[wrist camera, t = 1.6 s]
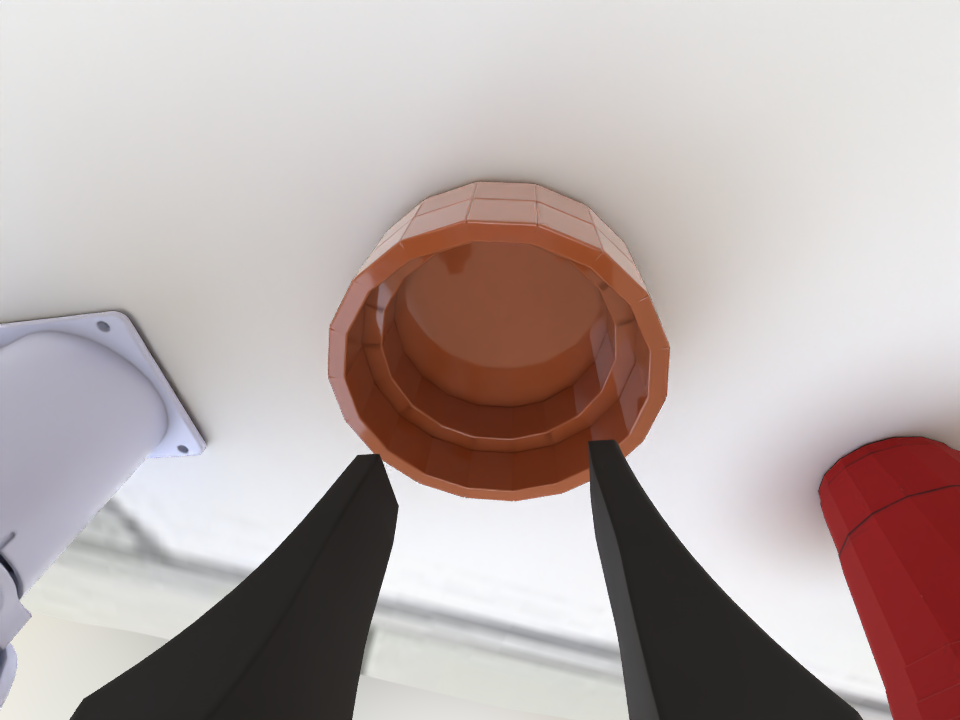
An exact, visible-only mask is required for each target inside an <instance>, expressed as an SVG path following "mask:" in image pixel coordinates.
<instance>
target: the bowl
mask: <svg viewBox="0 0 960 720" xmlns="http://www.w3.org/2000/svg"><path fill="white" fill-rule="evenodd" d="M669 356H670V347H669V342H668V340H667V337H666V335H665V332H664V330H663V327H662V325H661V322H660V320H659V317H658V315H657V312H656V310H655V307H654V305H653V302H652V300H651V297H650V295H649V293H648V291H647V289H646V287H645V284H644V282H643V280H642V278H641V276H640V274H639V272H638V270H637V268H636V265H635V263H634V261H633V259H632V257H631V255H630V253H629V250H628V248H627V246H626V244H625V243H624V242H623V241H622V240H621V239H620V238H619V237H618V236H617V235H616V234H615V233H614V232H613V231H612V230H611V229H610V228H609V227H608V226H607V225H606V224H605V223H604V222H603V221H602V220H601V219H600V218H599V217H598V216H597V215H596V214H595V213H594V212H593V211H592V210H591V209H590V208H589V207H587V206H586V205H584V204H582V203H580V202H577V201H575V200H573V199H570V198H568V197H565V196H563V195H561V194H558V193H556V192H554V191H551V190H549V189H547V188H544V187H542V186H540V185H535V184H532V183H507V182H482V181H479V182H474V183H471V184H468V185H465V186H462V187H459V188H456V189H453V190H450V191H447V192H444V193H441V194H438V195H435V196H432V197H429V198H426V199H425V200H423V201H422V202H421V203H419V204H418V205H417V206H416V207H415V208H413V209H412V210H411V211H410V212H409V213H408V214H406V215H405V216H404V217H403V218H402V219H400V220H399V221H398V222H397V223H396V224H395V225H393V226H392V227H391V228H390V229H389V230H387V231H386V233H385V234H384V236H383V237H382V238H381V240H380V241H379V243H378V244H377V246H376V247H375V248H374V250H373V251H372V253H371V254H370V256H369V257H368V258H367V260H366V261H365V263H364V264H363V266H362V267H361V268H360V270H359V271H358V273H357V274H356V276H355V277H354V279H353V280H352V282H351V284H350V286H349V288H348V290H347V292H346V294H345V296H344V298H343V300H342V302H341V304H340V306H339V308H338V310H337V312H336V314H335V316H334V318H333V320H332V322H331V324H330V328H329V350H328V379H329V381H330V384H331V386H332V389H333V391H334V394H335V396H336V399H337V402H338V404H339V407H340V409H341V412H342V414H343V417H344V419H345V420H346V422H347V423H348V424H349V426H350V427H351V428H352V429H353V430H354V431H355V433H356V434H357V435H358V436H359V437H360V438H361V439H362V441H363V442H364V443H365V444H366V445H367V446H368V447H369V449H370V450H371V451H372V452H373V453H374V454H380V456H381V459H382V460H383V461H384V462H386V463H387V464H389V465H391V466H392V467H394V468H395V469H397V470H399V471H400V472H402V473H403V474H405V475H406V476H408V477H410V478H411V479H413V480H414V481H416V482H418V483H420V484H423V485H426V486H429V487H432V488H436V489H439V490H442V491H445V492H448V493H451V494H454V495H457V496H460V497H465V498H475V499H489V500H502V501H513V500H514V501H520V500H526V499H532V498H538V497H544V496H550V495H556V494H562V493H565V492H567V491H569V490H571V489H574V488H576V487H578V486H580V485H582V484H585V483H587V482H589V481H590V473H589V452H588V441H596V440H612V439H614V440H615V441H616V442H618V444H619V446H620V449H621V451H622V453H623V455H624V457H626V456H627V455H628V454H630V453H631V452H632V451H633V450H634V449H635V448H636V447H637V446H639V445H640V444H641V443H642V442H643V440H644V439H645V437H646V435H647V434H648V432H649V430H650V428H651V426H652V424H653V422H654V420H655V418H656V416H657V414H658V413H659V411H660V409H661V407H662V405H663V403H664V401H665V399H666V397H667V387H668V371H669Z"/></svg>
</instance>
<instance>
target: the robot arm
mask: <svg viewBox="0 0 960 720" xmlns="http://www.w3.org/2000/svg"><path fill="white" fill-rule="evenodd" d="M105 323H107V324H108V325H109V326H107V325H106V324H105ZM205 449H206V444H205V442H204V440H203V438H202V437H201V435H200V434H199V432H198V430H197V429H196V427H195V425H194V424H193V422H192V421H191V419H190V417H189V416H188V414H187V412H186V411H185V409H184V407H183V406H182V404H181V403H180V401H179V399H178V398H177V396H176V394H175V393H174V391H173V390H172V388H171V386H170V385H169V383H168V381H167V380H166V378H165V376H164V375H163V373H162V372H161V370H160V368H159V367H158V365H157V363H156V362H155V360H154V359H153V357H152V355H151V354H150V352H149V350H148V349H147V347H146V346H145V344H144V342H143V341H142V339H141V337H140V336H139V334H138V332H137V331H136V329H135V328H134V326H133V324H132V323H131V321H130V320H129V318H128V317H127V316H126V315H124V314H123V313H120V312H118V311H109V312H100V313H92V314H83V315H74V316H66V317H57V318H49V319H40V320H31V321H23V322H14V323H5V324H0V710H1V708H2V705H3V703H4V702H5V700H6V698H7V696H8V693H9V691H10V688H11V686H12V683H13V681H14V678H15V673H16V669H17V654H16V652H15V649H14V647H13V645H12V644H11V643H10V641H11V640H12V639H13V638H14V637H15V636H16V634H17V633H18V632H19V631H20V630H21V628H22V627H23V626H24V625H25V624H26V622H27V621H28V620H29V619H30V618H31V617H32V616H31V613H30V612H29V611H28V610H26V609H25V608H24V606H23V605H22V604H21V603H20V600H21V599H22V598H23V597H24V595H25V594H26V593H27V592H28V591H29V590H30V589H31V588H32V586H33V585H34V584H35V583H36V582H37V581H38V580H39V579H40V577H41V576H42V575H43V574H44V573H45V572H46V571H47V569H48V568H49V567H50V566H51V565H52V564H53V563H54V562H55V560H56V559H57V558H58V557H59V556H60V555H61V554H62V553H63V551H64V550H65V549H66V548H67V547H68V546H69V545H70V544H71V542H72V541H73V540H74V539H75V538H76V537H77V536H78V535H79V533H80V532H81V531H82V530H83V529H84V528H85V527H86V526H87V524H88V523H89V522H90V521H91V520H92V519H93V518H94V517H95V515H96V514H97V513H98V512H99V511H100V510H101V509H102V508H103V506H104V505H105V504H106V503H107V502H108V501H109V500H110V499H111V497H112V496H113V495H114V494H115V493H116V492H117V491H118V490H119V488H120V487H121V486H122V485H123V484H124V483H125V482H126V481H127V479H128V478H129V477H130V476H131V475H132V474H133V473H134V472H135V470H136V469H137V468H138V467H139V466H140V465H141V464H142V463H143V461H144V460H145V459H146V458H159V457H175V456H190V455H200V454H201V453H202V452H203V451H204V450H205ZM588 452H589V473H590V494H591V505H592V513H593V521H594V529H595V537H596V542H597V546H598V550H599V555H600V559H601V564H602V568H603V573H604V577H605V581H606V586H607V590H608V595H609V599H610V604H611V608H612V612H613V617H614V621H615V626H616V631H617V636H618V641H619V647H620V654H621V661H622V668H623V675H624V683H625V690H626V697H627V705H628V712H629V719H630V720H863V719H862V717H861V716H860V715H859V713H858V712H857V711H856V710H855V709H854V708H852V707H851V706H850V705H849V704H848V703H846V702H845V701H844V700H843V699H841V698H840V697H839V696H838V695H837V694H835V693H834V692H833V691H832V690H830V689H829V688H828V687H827V686H826V685H824V684H823V683H822V682H821V681H820V680H818V679H817V678H816V677H815V676H814V675H813V674H811V673H810V672H809V671H808V670H807V669H805V668H804V667H803V666H802V665H801V664H800V663H799V662H797V661H796V660H795V659H794V658H793V657H792V656H791V655H790V654H789V653H787V652H786V651H785V650H784V649H783V648H782V647H781V646H780V645H778V644H777V643H776V642H775V641H774V640H773V639H772V638H771V637H770V636H769V635H768V634H767V633H766V632H765V631H764V630H763V629H762V628H760V627H759V626H758V625H757V624H756V623H755V622H754V621H753V620H752V619H751V618H750V617H749V616H748V615H747V614H746V613H745V612H744V611H743V610H742V609H741V608H740V607H739V606H738V605H737V604H736V603H735V602H734V601H733V600H732V599H731V598H730V597H729V596H728V595H727V594H726V593H725V592H724V591H723V590H722V589H721V587H720V586H719V585H718V584H717V583H716V582H715V581H714V580H713V579H712V578H711V577H710V576H709V574H708V573H707V572H706V571H705V570H704V569H703V568H702V566H701V565H700V564H699V563H698V562H697V561H696V560H695V558H694V557H693V556H692V555H691V554H690V552H689V551H688V550H687V549H686V547H685V546H684V545H683V544H682V543H681V541H680V540H679V539H678V537H677V536H676V535H675V533H674V532H673V531H672V530H671V528H670V527H669V526H668V524H667V523H666V522H665V520H664V519H663V517H662V516H661V515H660V513H659V512H658V510H657V509H656V508H655V506H654V505H653V503H652V502H651V500H650V499H649V497H648V496H647V494H646V493H645V491H644V490H643V488H642V487H641V485H640V483H639V482H638V480H637V478H636V477H635V475H634V473H633V472H632V470H631V468H630V466H629V465H628V463H627V461H626V459H625V457H624V455H623V453H622V451H621V449H620V446H619V444H618V442H616V441H615V440H614V439H612V440H596V441H588ZM398 507H399V506H398V503H397V501H396V498H395V495H394V492H393V489H392V487H391V484H390V481H389V478H388V476H387V473H386V470H385V467H384V465H383V462H382V459H381V456H380V454H367V455H357V456H356V458H355V459H354V460H353V461H352V462H351V463H350V465H349V466H348V467H347V468H346V469H345V471H344V472H343V473H342V474H341V475H340V477H339V478H338V479H337V480H336V482H335V483H334V484H333V485H332V486H331V488H330V489H329V490H328V491H327V492H326V494H325V495H324V496H323V497H322V498H321V500H320V501H319V502H318V503H317V504H316V505H315V507H314V508H313V509H312V510H311V511H310V512H309V514H308V515H307V516H306V517H305V518H304V519H303V521H302V522H301V523H300V524H299V525H298V526H297V527H296V528H295V529H294V530H293V532H292V533H291V534H290V535H289V536H288V537H287V538H286V539H285V540H284V541H283V542H282V543H281V544H280V546H279V547H278V548H277V549H276V550H275V551H274V552H273V553H272V554H271V555H270V556H269V557H268V558H267V559H266V560H265V561H264V562H263V563H262V564H261V565H260V566H259V567H258V568H257V569H256V570H254V571H253V572H252V573H251V574H250V575H249V576H248V577H247V578H246V579H245V580H244V581H243V582H241V583H240V584H239V585H238V586H237V587H236V588H235V589H234V590H233V591H231V592H230V593H229V594H228V595H227V596H225V597H224V598H223V599H222V600H221V601H219V602H218V603H217V604H216V605H215V606H213V607H212V608H211V609H210V610H209V611H207V612H206V613H205V614H204V615H203V616H201V617H200V618H199V619H198V620H196V621H195V622H194V623H193V624H191V625H190V626H189V627H187V628H186V629H185V630H183V631H182V632H181V633H180V634H178V635H177V636H176V637H174V638H173V639H172V640H170V641H169V642H168V643H166V644H165V645H163V646H162V647H161V648H159V649H158V650H156V651H155V652H154V653H152V654H151V655H149V656H148V657H147V658H145V659H144V660H142V661H141V662H140V663H138V664H137V665H135V666H133V667H132V668H130V669H129V670H127V671H126V672H124V673H123V674H121V675H120V676H118V677H117V678H115V679H114V680H112V681H111V682H109V683H108V684H106V685H105V686H103V687H101V688H100V689H98V690H97V691H95V692H94V693H92V694H91V695H89V696H88V697H86V698H84V699H83V701H82V702H81V703H80V705H79V706H78V708H77V709H76V711H75V712H74V714H73V715H72V717H71V718H70V720H352V717H353V710H354V705H355V698H356V692H357V686H358V681H359V676H360V670H361V665H362V659H363V654H364V648H365V644H366V640H367V636H368V632H369V628H370V624H371V621H372V617H373V613H374V610H375V606H376V603H377V599H378V596H379V592H380V589H381V585H382V582H383V578H384V575H385V571H386V568H387V564H388V560H389V557H390V553H391V549H392V546H393V541H394V535H395V529H396V522H397V514H398Z"/></svg>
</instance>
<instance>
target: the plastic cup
mask: <svg viewBox="0 0 960 720" xmlns="http://www.w3.org/2000/svg"><path fill="white" fill-rule="evenodd" d="M818 492H819V496H820V499H821V503H820V504H821V507H822V511H823V514H824V518H825V520H826V523H827V526H828V528H829V531H830V533H831V536H832V538H833V541H834V543H835V546H836V548H837V551H838V553H839V554H838V555H839V559H840V562H841V566H842V570H843V573H844V576H845V579H846V581H847V584H848V587H849V590H850V592H851V595H852V598H853V601H854V603H855V606H856V609H857V612H858V614H859V617H860V620H861V623H862V626H863V628H864V631H865V634H866V637H867V639H868V642H869V645H870V648H871V650H872V653H873V656H874V659H875V662H876V664H877V667H878V670H879V673H880V675H881V678H882V681H883V684H884V686H885V689H886V694H887V699H888V703H889V707H890V711H891V714H892V717H893V720H960V451H958V450H954V449H951V448H950V447H948V446H947V445H946V444H944V443H941V442H938V441H934V440H931V439H927V438H924V437H898V438H890V439H887V440H883V441H879V442H876V443H872V444H869V445H865V446H863V447H861V448H859V449H857V450H856V451H854V452H852V453H850V454H848V455H847V456H845V457H843V458H841V459H840V460H839V461H838V462H837V463H836V464H835V465H834V466H833V467H832V468H831V469H830V470H829V471H828V472H827V473H826V474H825V475H824V477H823V480H822V483H821V485H820V488H819V491H818Z"/></svg>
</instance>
